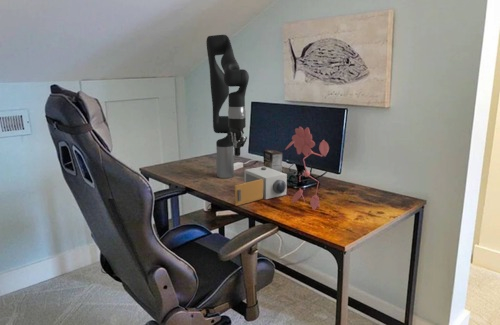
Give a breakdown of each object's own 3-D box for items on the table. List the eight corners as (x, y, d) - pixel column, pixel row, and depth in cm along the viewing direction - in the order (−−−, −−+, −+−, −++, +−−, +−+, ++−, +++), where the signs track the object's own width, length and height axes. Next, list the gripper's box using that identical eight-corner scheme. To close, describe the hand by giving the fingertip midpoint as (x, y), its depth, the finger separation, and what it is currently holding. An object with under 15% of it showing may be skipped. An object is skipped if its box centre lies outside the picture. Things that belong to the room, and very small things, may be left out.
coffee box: (262, 179, 205) (262, 150, 202) (273, 178, 208) (273, 149, 204) (271, 184, 198) (271, 153, 194) (282, 182, 200) (282, 152, 197)
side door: (237, 206, 164) (237, 186, 162) (234, 205, 166) (234, 185, 164) (265, 198, 174) (265, 179, 172) (263, 197, 175) (263, 178, 173)
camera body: (244, 189, 189) (244, 168, 186) (264, 185, 195) (264, 164, 193) (268, 200, 173) (268, 177, 170) (289, 195, 179) (289, 173, 177)
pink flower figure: (293, 196, 178) (294, 121, 170) (335, 212, 158) (338, 128, 149) (267, 203, 170) (266, 125, 161) (308, 221, 149) (310, 133, 141)
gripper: (221, 115, 169) (222, 154, 174) (237, 119, 159) (238, 159, 163) (236, 114, 173) (236, 152, 178) (252, 117, 163) (252, 157, 167)
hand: (237, 155), depth 170 cm, fingers closed
